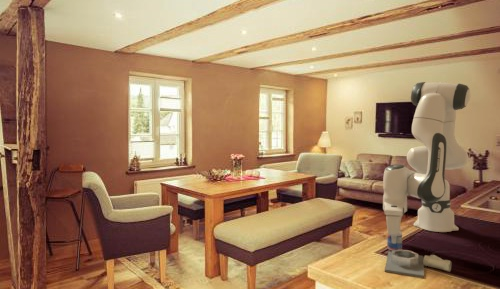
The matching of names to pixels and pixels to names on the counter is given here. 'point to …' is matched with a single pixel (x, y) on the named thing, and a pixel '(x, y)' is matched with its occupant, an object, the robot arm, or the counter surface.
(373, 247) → the counter surface
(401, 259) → the steel collar
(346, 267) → the counter surface
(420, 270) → the mat
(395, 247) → the pill bottle
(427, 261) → the pipe fitting
